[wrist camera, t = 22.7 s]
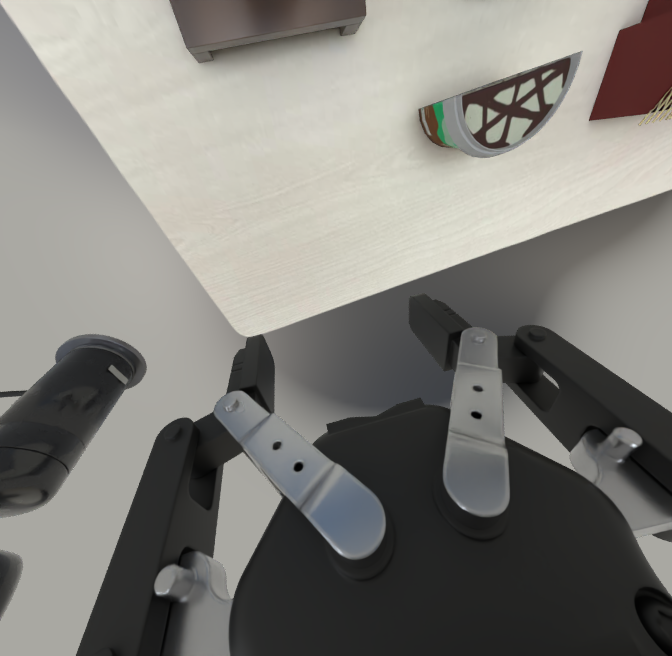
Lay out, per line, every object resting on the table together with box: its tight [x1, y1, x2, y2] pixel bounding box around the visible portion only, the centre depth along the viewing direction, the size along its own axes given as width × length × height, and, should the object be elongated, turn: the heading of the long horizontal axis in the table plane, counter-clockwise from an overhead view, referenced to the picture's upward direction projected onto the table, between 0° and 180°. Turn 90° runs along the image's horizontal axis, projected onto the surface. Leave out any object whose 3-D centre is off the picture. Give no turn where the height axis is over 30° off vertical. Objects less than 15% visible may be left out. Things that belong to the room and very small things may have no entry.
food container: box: [419, 51, 582, 158], centre depth 28 cm, size 12×6×10 cm, turn 107°
